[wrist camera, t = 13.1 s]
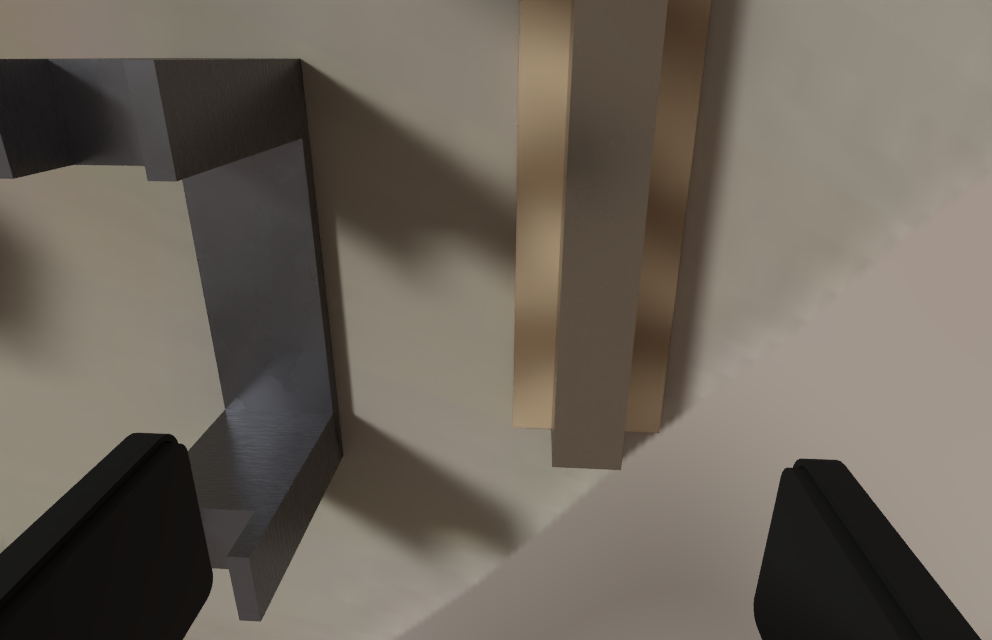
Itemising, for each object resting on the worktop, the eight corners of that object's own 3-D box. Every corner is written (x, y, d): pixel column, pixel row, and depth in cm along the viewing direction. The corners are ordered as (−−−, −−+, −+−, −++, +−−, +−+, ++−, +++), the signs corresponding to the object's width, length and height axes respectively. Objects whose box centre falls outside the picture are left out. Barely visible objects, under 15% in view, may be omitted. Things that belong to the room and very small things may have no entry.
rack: (343, 455, 33) (260, 621, 23) (241, 451, 33) (119, 612, 23) (300, 58, 25) (153, 60, 16) (170, 58, 26) (-52, 59, 16)
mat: (656, 426, 31) (658, 432, 30) (513, 420, 31) (512, 427, 31) (720, -108, 22) (725, -113, 22) (522, -106, 23) (521, -111, 22)
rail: (613, 432, 30) (620, 470, 28) (551, 429, 30) (552, 466, 28) (663, -110, 22) (681, -134, 19) (576, -109, 22) (581, -133, 19)
